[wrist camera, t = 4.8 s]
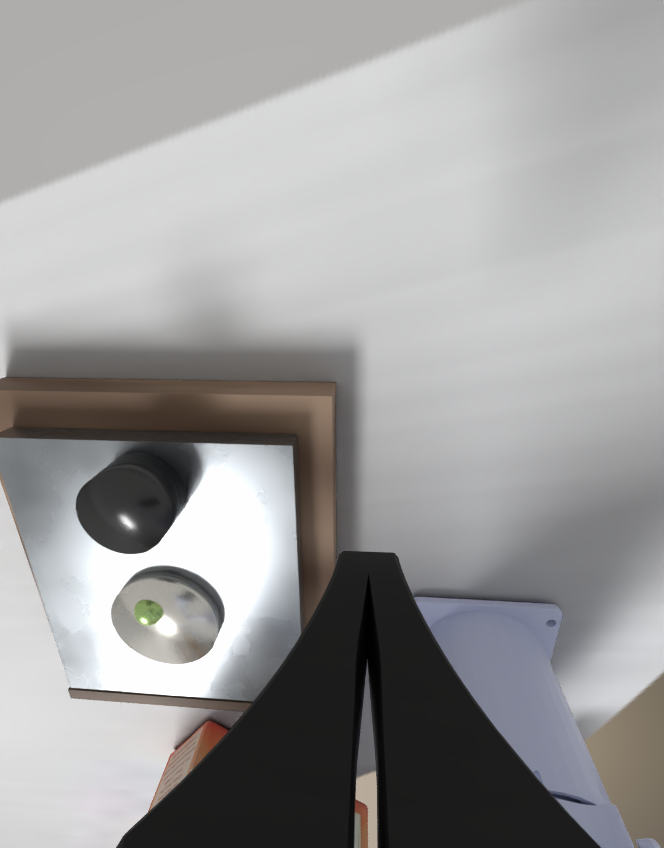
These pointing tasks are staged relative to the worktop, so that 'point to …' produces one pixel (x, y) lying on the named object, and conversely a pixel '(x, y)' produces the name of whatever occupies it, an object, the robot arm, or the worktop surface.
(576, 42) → the worktop surface
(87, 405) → the base
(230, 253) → the worktop surface
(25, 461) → the plate
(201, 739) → the cracker box
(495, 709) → the robot arm
